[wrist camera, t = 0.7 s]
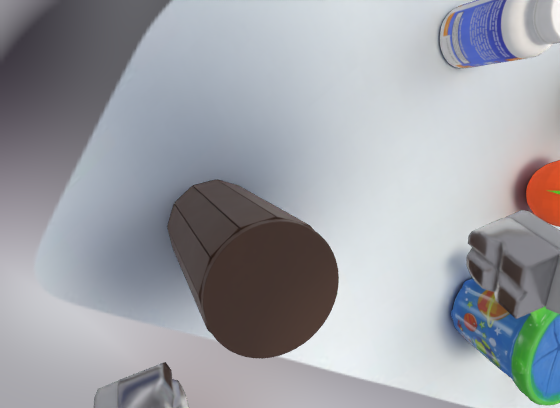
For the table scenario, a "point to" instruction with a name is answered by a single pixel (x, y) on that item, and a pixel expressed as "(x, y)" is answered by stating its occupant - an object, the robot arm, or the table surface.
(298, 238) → the container
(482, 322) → the snack cup
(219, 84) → the table surface
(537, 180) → the clementine
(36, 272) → the table surface
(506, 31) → the pill bottle
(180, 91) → the table surface
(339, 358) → the table surface
